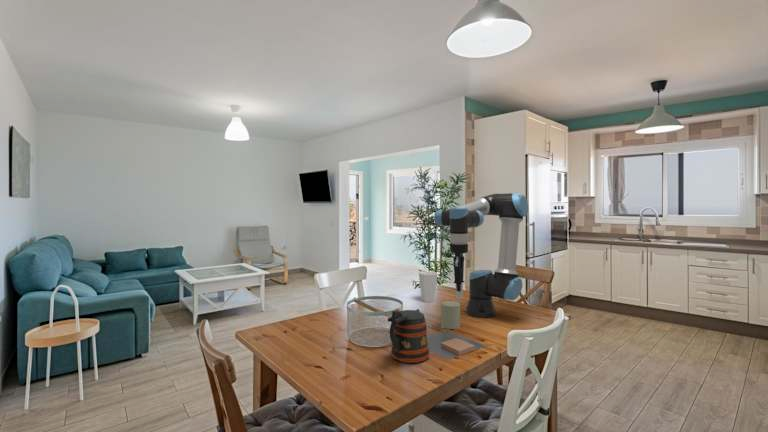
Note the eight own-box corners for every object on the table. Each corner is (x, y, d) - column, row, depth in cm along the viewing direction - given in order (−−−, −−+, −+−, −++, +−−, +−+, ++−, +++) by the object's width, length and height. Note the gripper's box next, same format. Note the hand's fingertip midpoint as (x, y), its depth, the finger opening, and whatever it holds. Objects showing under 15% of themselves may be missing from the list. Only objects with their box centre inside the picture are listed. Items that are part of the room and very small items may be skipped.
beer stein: (410, 372, 126) (410, 316, 125) (376, 362, 134) (376, 309, 134) (435, 354, 141) (435, 303, 141) (403, 345, 150) (403, 298, 149)
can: (460, 331, 166) (460, 305, 165) (440, 330, 168) (440, 304, 167) (460, 324, 175) (460, 300, 174) (441, 323, 177) (441, 299, 176)
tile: (456, 337, 151) (440, 342, 145) (475, 345, 142) (459, 351, 137) (456, 342, 151) (440, 347, 146) (474, 350, 143) (459, 355, 137)
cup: (418, 302, 214) (418, 274, 213) (419, 298, 224) (419, 270, 223) (437, 303, 212) (437, 274, 211) (437, 298, 222) (437, 271, 221)
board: (447, 332, 165) (447, 330, 165) (486, 348, 147) (486, 346, 147) (410, 343, 152) (410, 341, 152) (448, 362, 134) (448, 359, 134)
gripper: (452, 241, 160) (453, 293, 161) (446, 244, 148) (447, 301, 149) (470, 241, 157) (470, 294, 158) (465, 245, 145) (465, 303, 146)
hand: (459, 297), depth 154 cm, fingers closed
